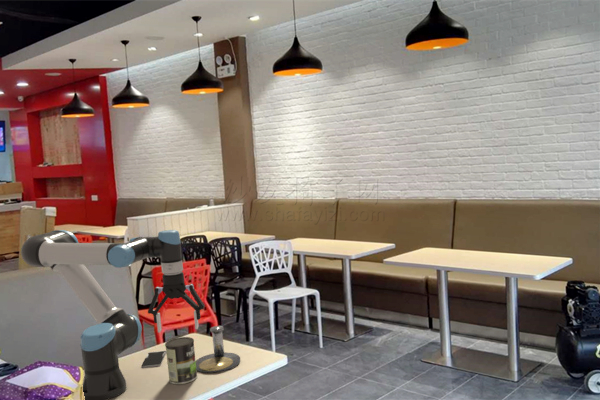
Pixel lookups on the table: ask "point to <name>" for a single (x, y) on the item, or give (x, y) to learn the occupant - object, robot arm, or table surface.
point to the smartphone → (154, 359)
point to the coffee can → (181, 360)
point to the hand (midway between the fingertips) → (178, 329)
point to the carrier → (217, 355)
